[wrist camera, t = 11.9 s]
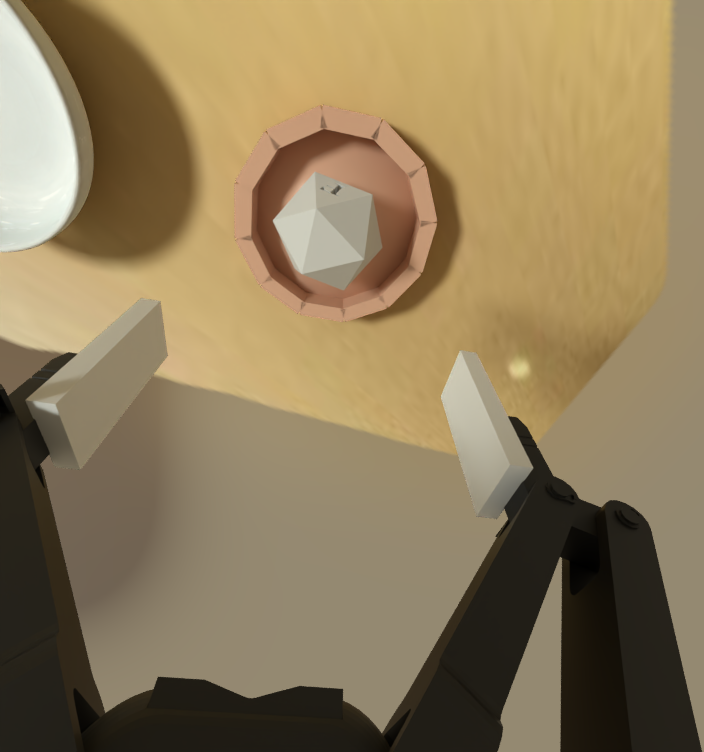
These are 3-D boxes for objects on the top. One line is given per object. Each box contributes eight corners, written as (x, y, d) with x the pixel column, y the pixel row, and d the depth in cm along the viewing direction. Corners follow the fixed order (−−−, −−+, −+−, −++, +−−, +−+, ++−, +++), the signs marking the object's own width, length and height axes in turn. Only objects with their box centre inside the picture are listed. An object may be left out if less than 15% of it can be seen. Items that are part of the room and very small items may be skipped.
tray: (245, 87, 30) (234, 84, 27) (454, 134, 32) (463, 136, 29) (243, 290, 41) (234, 303, 38) (401, 317, 42) (404, 332, 40)
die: (397, 228, 36) (394, 172, 27) (359, 311, 37) (341, 286, 27) (322, 198, 38) (291, 132, 28) (285, 278, 38) (242, 242, 28)
